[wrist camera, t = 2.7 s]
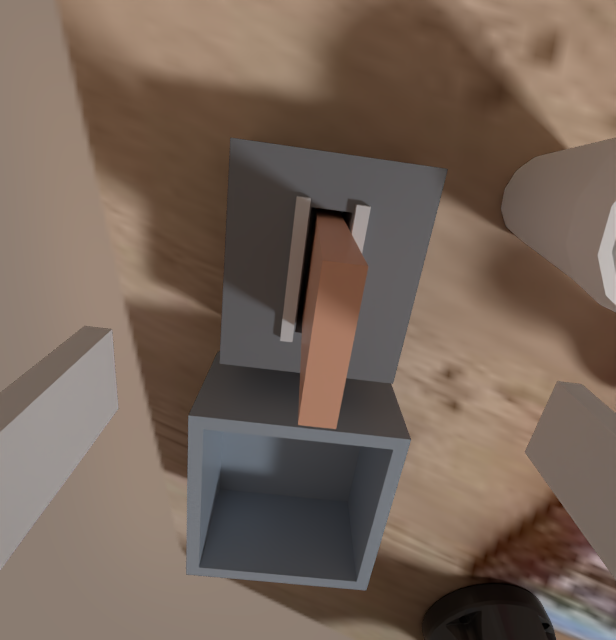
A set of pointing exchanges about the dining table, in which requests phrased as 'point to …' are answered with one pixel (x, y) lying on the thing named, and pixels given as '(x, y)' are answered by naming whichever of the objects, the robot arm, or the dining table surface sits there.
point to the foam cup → (570, 214)
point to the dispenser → (294, 247)
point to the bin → (289, 480)
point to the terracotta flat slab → (329, 318)
